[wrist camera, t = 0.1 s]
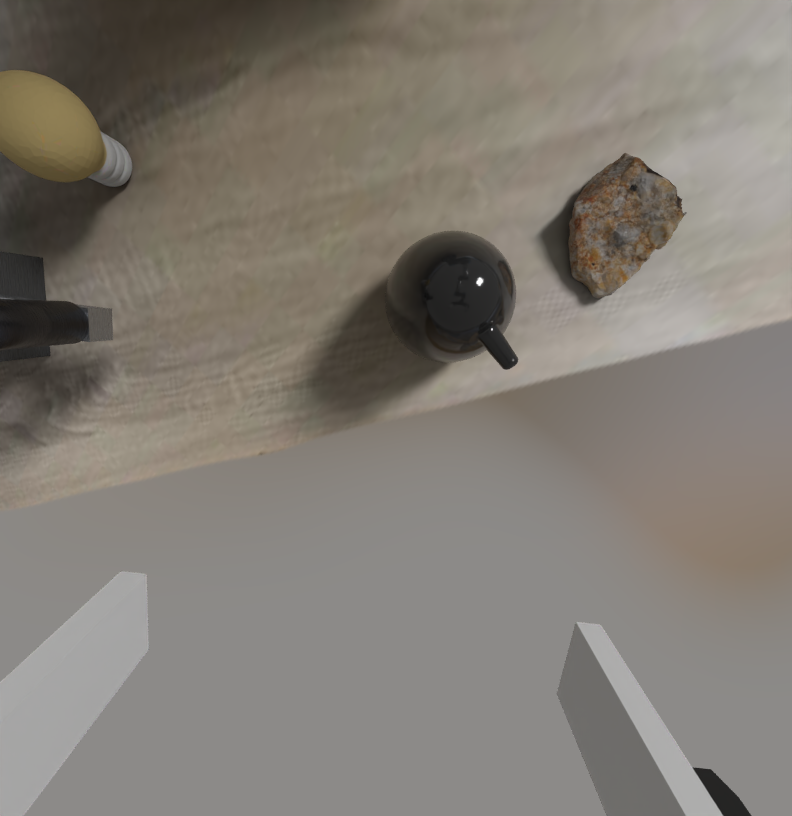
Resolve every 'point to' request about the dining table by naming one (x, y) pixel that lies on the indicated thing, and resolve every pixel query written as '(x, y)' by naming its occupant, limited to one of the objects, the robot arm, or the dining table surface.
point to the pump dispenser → (452, 299)
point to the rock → (620, 223)
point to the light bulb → (56, 133)
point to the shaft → (50, 323)
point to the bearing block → (22, 293)
